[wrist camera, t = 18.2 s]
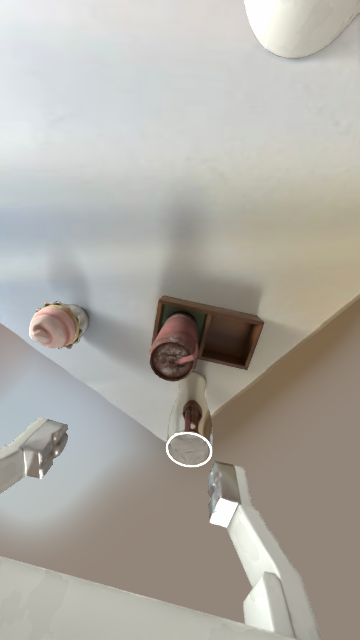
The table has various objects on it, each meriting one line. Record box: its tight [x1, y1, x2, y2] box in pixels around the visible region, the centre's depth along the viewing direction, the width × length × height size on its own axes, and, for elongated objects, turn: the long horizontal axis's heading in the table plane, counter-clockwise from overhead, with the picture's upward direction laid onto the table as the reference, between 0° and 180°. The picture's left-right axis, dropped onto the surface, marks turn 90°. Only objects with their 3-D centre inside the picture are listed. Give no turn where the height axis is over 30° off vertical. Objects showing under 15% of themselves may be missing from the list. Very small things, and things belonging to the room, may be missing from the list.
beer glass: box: [166, 372, 212, 467], centre depth 32 cm, size 7×7×15 cm
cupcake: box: [29, 301, 89, 349], centre depth 33 cm, size 9×9×10 cm
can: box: [149, 311, 198, 381], centre depth 28 cm, size 6×6×14 cm
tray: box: [151, 296, 264, 370], centre depth 34 cm, size 9×18×4 cm, turn 79°
